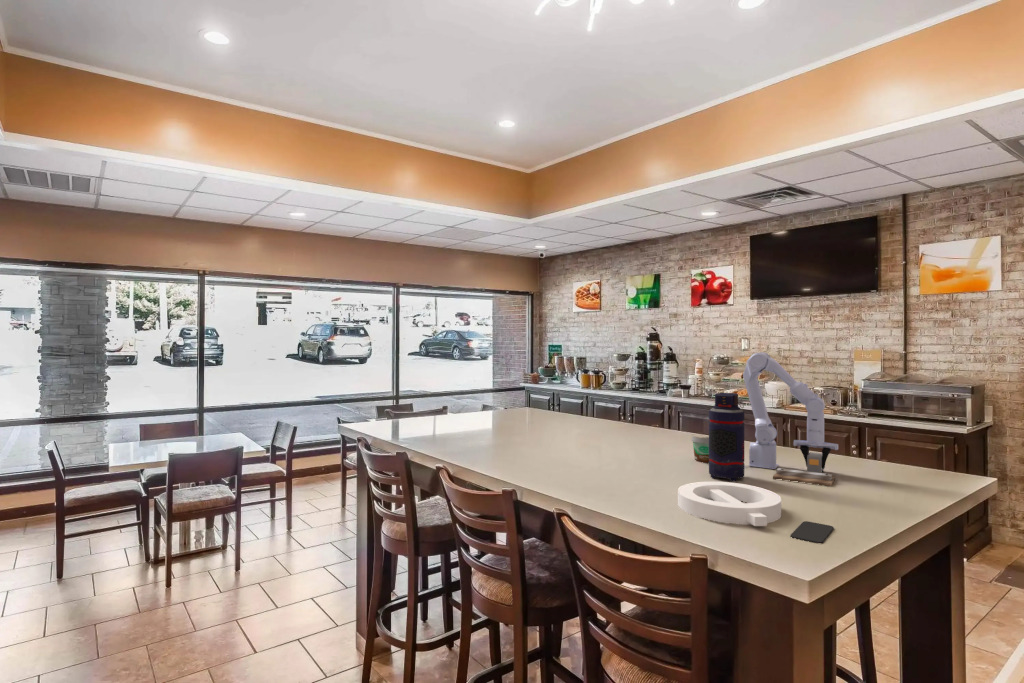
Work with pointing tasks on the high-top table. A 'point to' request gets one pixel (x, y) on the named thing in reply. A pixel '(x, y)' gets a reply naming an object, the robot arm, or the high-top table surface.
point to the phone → (812, 532)
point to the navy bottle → (726, 437)
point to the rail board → (807, 480)
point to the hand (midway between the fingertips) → (815, 467)
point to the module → (814, 462)
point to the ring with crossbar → (730, 502)
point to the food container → (701, 449)
